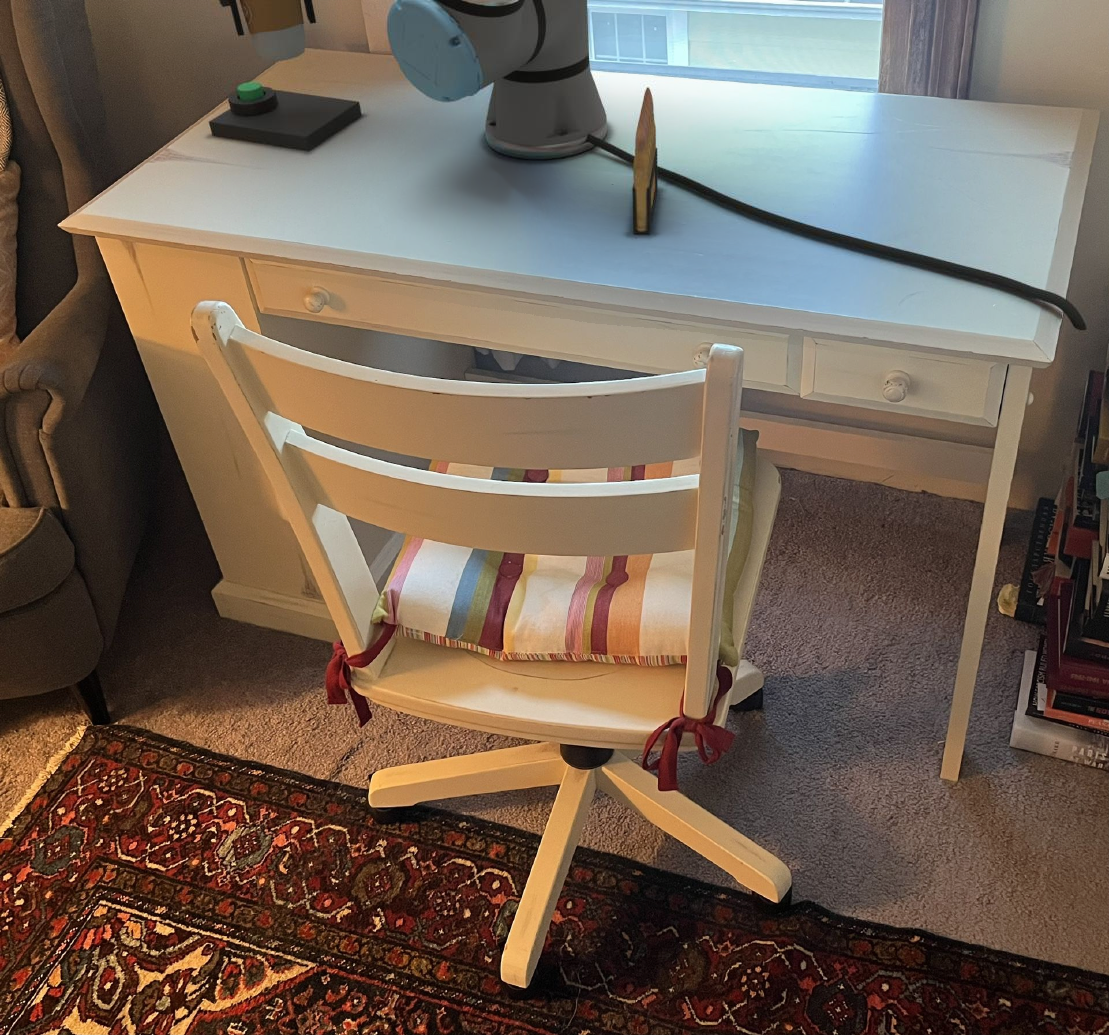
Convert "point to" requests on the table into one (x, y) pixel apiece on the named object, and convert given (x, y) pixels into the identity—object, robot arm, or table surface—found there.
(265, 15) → the coffee cup
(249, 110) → the scale
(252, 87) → the button
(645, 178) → the ammunition clip
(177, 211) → the table surface
